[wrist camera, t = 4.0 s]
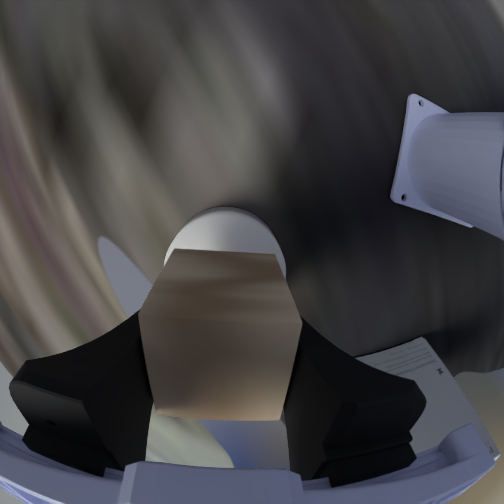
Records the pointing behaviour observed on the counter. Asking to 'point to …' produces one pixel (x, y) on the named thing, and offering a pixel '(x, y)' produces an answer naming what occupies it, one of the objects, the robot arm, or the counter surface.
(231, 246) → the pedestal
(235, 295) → the beech block
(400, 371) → the skincare box
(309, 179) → the counter surface
